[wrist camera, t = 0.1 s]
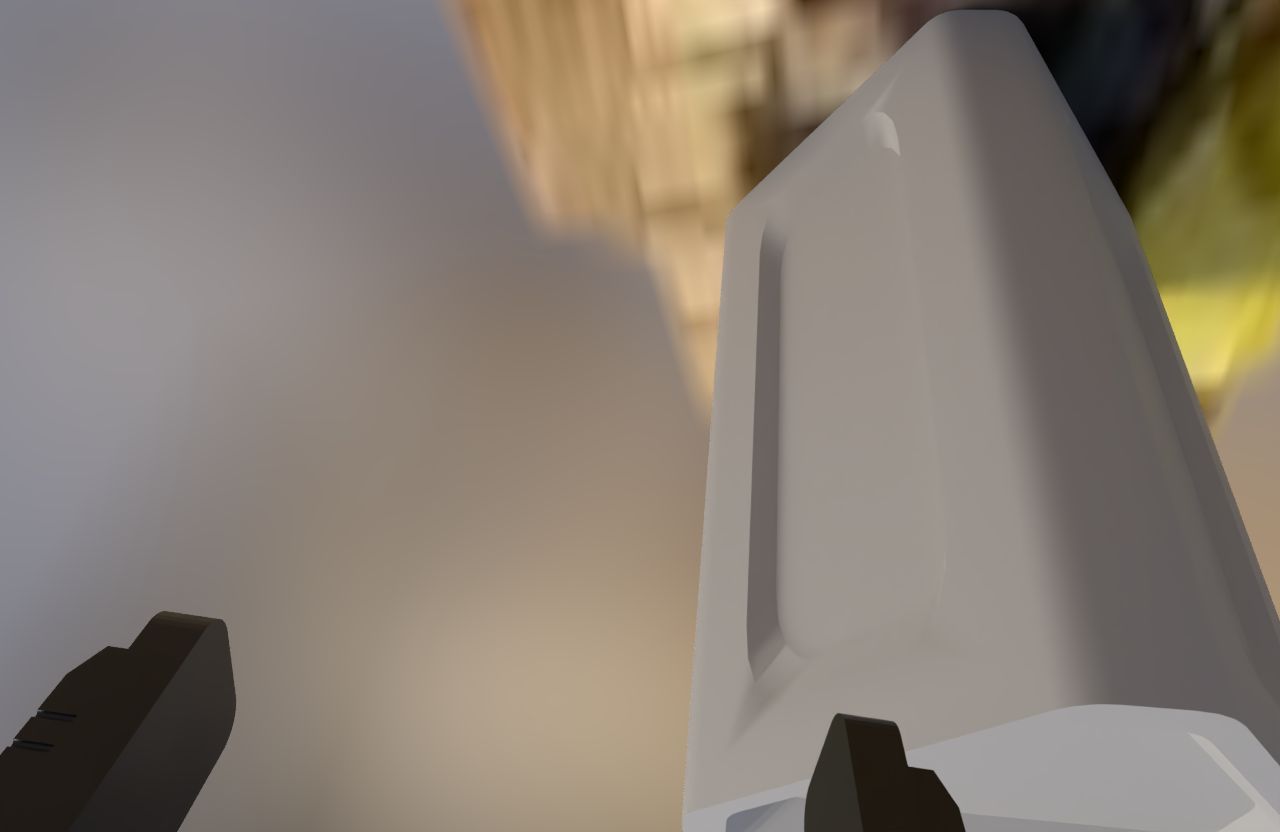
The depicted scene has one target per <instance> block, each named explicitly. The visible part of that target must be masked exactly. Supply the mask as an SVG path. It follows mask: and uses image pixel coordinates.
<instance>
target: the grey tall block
mask: <svg viewBox="0 0 1280 832" xmlns="http://www.w3.org/2000/svg"><path fill="white" fill-rule="evenodd" d="M837 713H842V714H849V715H855V716H862V717H869V718H876V719H882V720H889V721H894V722H895V723H896V724H897V726H898V728H899V730H900V734H901V738H902V742H903V746H904V751H905V755H906V759H907V764H908V766H909V767H916V768H923V769H929V770H934V772H935V773H936V775H937V776H938V778H939V779H940V780H941V782H942V783H943V785H944V786H945V788H946V789H947V791H948V792H949V794H950V795H951V797H952V798H953V800H954V801H955V802H956V804H957V805H958V807H959V809H960V813H961V816H962V820H963V823H964V827H965V831H966V832H1280V621H1279V618H1278V615H1277V612H1276V610H1275V607H1274V604H1273V602H1272V599H1271V596H1270V594H1269V591H1268V588H1267V585H1266V583H1265V580H1264V577H1263V574H1262V572H1261V569H1260V566H1259V564H1258V561H1257V558H1256V555H1255V553H1254V550H1253V547H1252V545H1251V542H1250V539H1249V536H1248V534H1247V531H1246V528H1245V525H1244V523H1243V520H1242V517H1241V515H1240V512H1239V509H1238V507H1237V504H1236V501H1235V498H1234V496H1233V493H1232V490H1231V488H1230V485H1229V482H1228V479H1227V477H1226V474H1225V471H1224V468H1223V466H1222V463H1221V460H1220V457H1219V455H1218V452H1217V449H1216V447H1215V444H1214V441H1213V438H1212V436H1211V433H1210V430H1209V428H1208V425H1207V422H1206V419H1205V417H1204V414H1203V411H1202V408H1201V406H1200V403H1199V400H1198V398H1197V395H1196V392H1195V389H1194V387H1193V384H1192V381H1191V379H1190V376H1189V373H1188V370H1187V368H1186V365H1185V362H1184V360H1183V357H1182V354H1181V351H1180V349H1179V346H1178V343H1177V341H1176V338H1175V335H1174V332H1173V330H1172V327H1171V324H1170V322H1169V319H1168V316H1167V313H1166V311H1165V308H1164V305H1163V302H1162V300H1161V297H1160V294H1159V292H1158V289H1157V286H1156V283H1155V281H1154V278H1153V275H1152V273H1151V270H1150V267H1149V264H1148V262H1147V259H1146V256H1145V254H1144V251H1143V248H1142V245H1141V243H1140V240H1139V237H1138V235H1137V232H1136V229H1135V226H1134V224H1133V221H1132V218H1131V216H1130V214H1129V213H1128V211H1127V209H1126V207H1125V205H1124V204H1123V202H1122V200H1121V198H1120V196H1119V195H1118V193H1117V191H1116V189H1115V187H1114V186H1113V184H1112V182H1111V180H1110V178H1109V177H1108V175H1107V173H1106V171H1105V170H1104V168H1103V166H1102V164H1101V162H1100V161H1099V159H1098V157H1097V155H1096V153H1095V152H1094V150H1093V148H1092V146H1091V144H1090V143H1089V141H1088V139H1087V137H1086V135H1085V134H1084V132H1083V130H1082V128H1081V126H1080V125H1079V123H1078V121H1077V119H1076V117H1075V116H1074V114H1073V112H1072V110H1071V109H1070V107H1069V105H1068V103H1067V101H1066V100H1065V98H1064V96H1063V94H1062V92H1061V91H1060V89H1059V87H1058V85H1057V83H1056V82H1055V80H1054V78H1053V76H1052V74H1051V73H1050V71H1049V69H1048V67H1047V65H1046V64H1045V62H1044V60H1043V58H1042V56H1041V55H1040V53H1039V51H1038V49H1037V48H1036V46H1035V44H1034V42H1033V40H1032V39H1031V37H1030V35H1029V33H1028V31H1027V30H1026V28H1025V26H1024V24H1023V23H1022V22H1021V21H1020V19H1019V18H1018V17H1017V16H1015V15H1013V14H1011V13H1010V12H1007V11H1001V10H953V11H947V12H945V13H942V14H940V15H937V16H936V17H934V18H933V19H931V20H930V21H929V22H927V23H926V24H925V25H924V26H923V27H922V28H921V29H920V30H919V31H918V32H917V33H916V34H915V35H914V36H913V37H912V38H911V39H909V40H908V41H907V42H906V43H905V44H904V45H903V46H902V47H901V48H900V49H899V50H898V51H897V52H896V53H895V54H894V55H893V56H892V57H891V58H890V59H889V60H888V61H887V62H885V63H884V64H883V65H882V66H881V67H880V68H879V69H878V70H877V71H876V72H875V73H874V74H873V75H872V76H871V77H870V78H869V79H868V80H867V81H866V82H865V83H864V84H862V85H861V86H860V87H859V88H858V89H857V90H856V91H855V92H854V93H853V94H852V95H851V96H850V97H849V98H848V99H847V100H846V101H845V102H844V103H843V104H842V105H841V106H840V107H838V108H837V109H836V110H835V111H834V112H833V113H832V114H831V115H830V116H829V117H828V118H827V119H826V120H825V121H824V122H823V123H822V124H821V125H820V126H819V127H818V128H817V129H815V130H814V131H813V132H812V133H811V134H810V135H809V136H808V137H807V138H806V139H805V140H804V141H803V142H802V143H801V144H800V145H799V146H798V147H797V148H796V149H795V150H794V151H793V152H791V153H790V154H789V155H788V156H787V157H786V158H785V159H784V160H783V161H782V162H781V163H780V164H779V165H778V166H777V167H776V168H775V169H774V170H773V171H772V172H771V173H770V174H769V175H767V176H766V177H765V178H764V179H763V180H762V181H761V182H760V183H759V184H758V185H757V186H756V187H755V188H754V189H753V190H752V191H751V192H750V193H749V194H748V195H747V196H746V197H744V198H743V199H742V200H741V201H740V202H739V203H738V204H737V205H736V206H735V207H734V208H733V210H732V211H731V212H730V214H729V216H728V218H727V222H726V229H725V243H724V257H723V270H722V284H721V297H720V311H719V324H718V338H717V351H716V365H715V379H714V392H713V406H712V419H711V433H710V446H709V460H708V473H707V487H706V502H705V514H704V528H703V542H702V555H701V568H700V582H699V597H698V609H697V623H696V636H695V650H694V663H693V678H692V690H691V705H690V719H689V731H688V745H687V759H686V772H685V785H684V799H683V800H684V801H683V813H682V832H804V813H805V803H806V796H807V791H808V787H809V784H810V781H811V778H812V776H813V773H814V770H815V767H816V764H817V762H818V759H819V756H820V753H821V750H822V747H823V745H824V742H825V739H826V736H827V733H828V730H829V728H830V725H831V722H832V720H833V718H834V716H835V715H836V714H837Z"/></svg>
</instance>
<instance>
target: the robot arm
mask: <svg viewBox="0 0 1280 832" xmlns="http://www.w3.org/2000/svg"><path fill="white" fill-rule="evenodd" d="M235 710H236V695H235V687H234V679H233V671H232V663H231V655H230V647H229V639H228V631H227V627H226V624H225V622H224V621H223V620H221V619H215V618H208V617H201V616H194V615H188V614H181V613H174V612H168V611H163V612H160V613H158V614H156V615H155V616H154V617H153V618H152V619H151V620H150V621H149V623H148V624H147V625H146V626H145V628H144V629H143V630H142V632H141V633H140V634H139V636H138V637H137V638H136V639H135V641H134V642H133V643H132V645H131V646H130V647H129V649H124V648H118V647H111V646H107V647H106V648H104V649H103V650H102V651H100V652H99V653H97V654H96V655H94V656H93V657H91V658H90V659H88V660H87V661H85V662H84V663H82V664H81V665H79V666H78V667H76V668H75V669H74V670H72V671H71V672H69V673H68V674H66V675H65V677H64V678H63V679H62V681H61V682H60V683H59V684H58V685H57V686H56V688H55V689H54V690H53V691H52V693H51V694H50V695H49V696H48V697H47V699H46V700H45V701H44V702H43V704H42V705H41V706H40V708H39V709H38V712H37V715H36V716H35V717H31V718H30V719H29V721H28V722H27V723H26V724H25V726H24V727H23V728H22V729H21V730H20V732H19V733H18V734H17V735H16V736H15V738H14V741H13V744H12V746H11V747H7V748H6V749H5V750H4V751H3V752H2V754H1V755H0V832H177V831H178V829H179V828H180V826H181V824H182V822H183V821H184V819H185V817H186V815H187V813H188V812H189V810H190V808H191V806H192V805H193V803H194V801H195V799H196V797H197V795H198V794H199V792H200V790H201V789H202V787H203V785H204V783H205V782H206V780H207V778H208V776H209V774H210V773H211V771H212V769H213V767H214V766H215V764H216V762H217V760H218V758H219V757H220V755H221V753H222V751H223V749H224V748H225V745H226V743H227V741H228V738H229V736H230V733H231V730H232V726H233V722H234V717H235ZM804 832H966V831H965V827H964V823H963V820H962V816H961V813H960V809H959V807H958V805H957V804H956V802H955V801H954V800H953V798H952V797H951V795H950V794H949V792H948V791H947V789H946V788H945V786H944V785H943V783H942V782H941V780H940V779H939V778H938V776H937V775H936V773H935V772H934V770H929V769H923V768H916V767H909V766H908V764H907V759H906V755H905V751H904V746H903V742H902V738H901V734H900V730H899V728H898V726H897V724H896V723H895V722H894V721H889V720H882V719H876V718H869V717H862V716H855V715H849V714H842V713H837V714H836V715H835V716H834V718H833V720H832V722H831V725H830V728H829V730H828V733H827V736H826V739H825V742H824V745H823V747H822V750H821V753H820V756H819V759H818V762H817V764H816V767H815V770H814V773H813V776H812V778H811V781H810V784H809V787H808V791H807V796H806V803H805V813H804Z"/></svg>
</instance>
